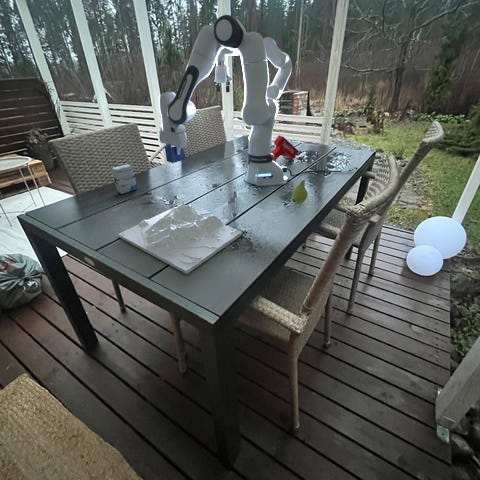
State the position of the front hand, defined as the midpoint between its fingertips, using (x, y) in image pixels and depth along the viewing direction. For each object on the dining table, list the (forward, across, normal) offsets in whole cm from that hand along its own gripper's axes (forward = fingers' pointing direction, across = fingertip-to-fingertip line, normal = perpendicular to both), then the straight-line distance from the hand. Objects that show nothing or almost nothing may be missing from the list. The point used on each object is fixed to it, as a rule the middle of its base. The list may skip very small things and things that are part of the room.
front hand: (174, 153), depth 150 cm
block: (+4, 0, 0) cm, 4 cm away
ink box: (+11, +3, -33) cm, 35 cm away
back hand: (-25, -30, +70) cm, 80 cm away
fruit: (+11, +74, +11) cm, 76 cm away
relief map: (+11, +57, -42) cm, 72 cm away
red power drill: (+11, +32, +61) cm, 70 cm away
